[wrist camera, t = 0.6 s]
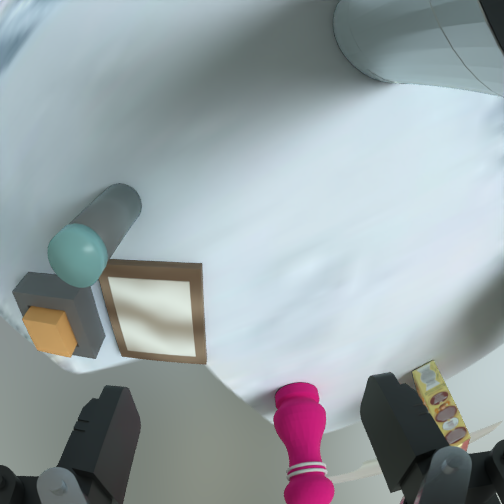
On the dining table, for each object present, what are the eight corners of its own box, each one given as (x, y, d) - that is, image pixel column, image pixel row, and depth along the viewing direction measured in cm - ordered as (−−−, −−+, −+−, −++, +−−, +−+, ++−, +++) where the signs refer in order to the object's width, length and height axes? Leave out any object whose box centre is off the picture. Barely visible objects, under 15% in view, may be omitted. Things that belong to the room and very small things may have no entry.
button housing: (28, 272, 30) (12, 291, 27) (87, 277, 31) (73, 299, 27) (49, 327, 35) (38, 347, 31) (105, 335, 35) (95, 358, 32)
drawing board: (99, 258, 29) (94, 264, 28) (202, 263, 30) (200, 269, 29) (123, 350, 36) (121, 357, 35) (206, 358, 37) (206, 365, 36)
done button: (37, 296, 29) (21, 318, 26) (70, 301, 30) (55, 325, 26) (50, 328, 32) (37, 350, 28) (82, 333, 32) (70, 357, 29)
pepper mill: (264, 388, 40) (271, 523, 23) (313, 374, 39) (338, 512, 22) (281, 410, 44) (291, 528, 27) (325, 398, 43) (347, 518, 25)
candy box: (410, 370, 41) (443, 453, 27) (434, 358, 40) (471, 438, 26) (416, 393, 45) (443, 465, 31) (437, 382, 44) (467, 452, 30)
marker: (99, 183, 25) (41, 232, 17) (140, 182, 26) (93, 233, 17) (104, 224, 28) (56, 285, 19) (144, 225, 28) (105, 289, 19)
